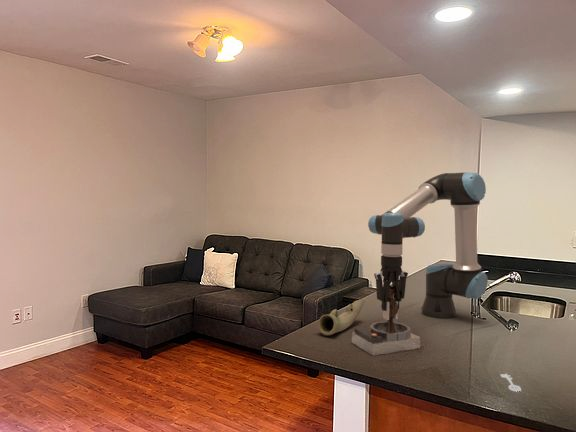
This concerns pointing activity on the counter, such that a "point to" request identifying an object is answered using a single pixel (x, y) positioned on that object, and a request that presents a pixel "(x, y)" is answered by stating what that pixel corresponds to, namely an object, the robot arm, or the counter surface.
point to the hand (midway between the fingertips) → (390, 318)
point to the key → (511, 383)
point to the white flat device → (385, 338)
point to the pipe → (339, 319)
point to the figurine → (391, 310)
